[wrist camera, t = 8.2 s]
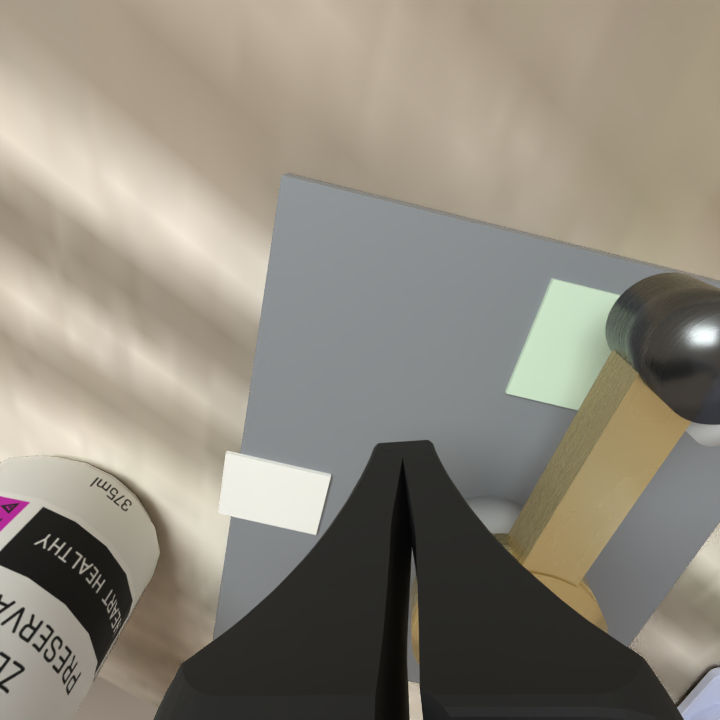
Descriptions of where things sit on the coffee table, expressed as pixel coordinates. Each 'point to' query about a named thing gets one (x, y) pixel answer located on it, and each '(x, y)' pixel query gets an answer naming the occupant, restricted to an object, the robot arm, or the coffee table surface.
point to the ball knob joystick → (619, 434)
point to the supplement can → (65, 580)
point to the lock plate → (437, 388)
